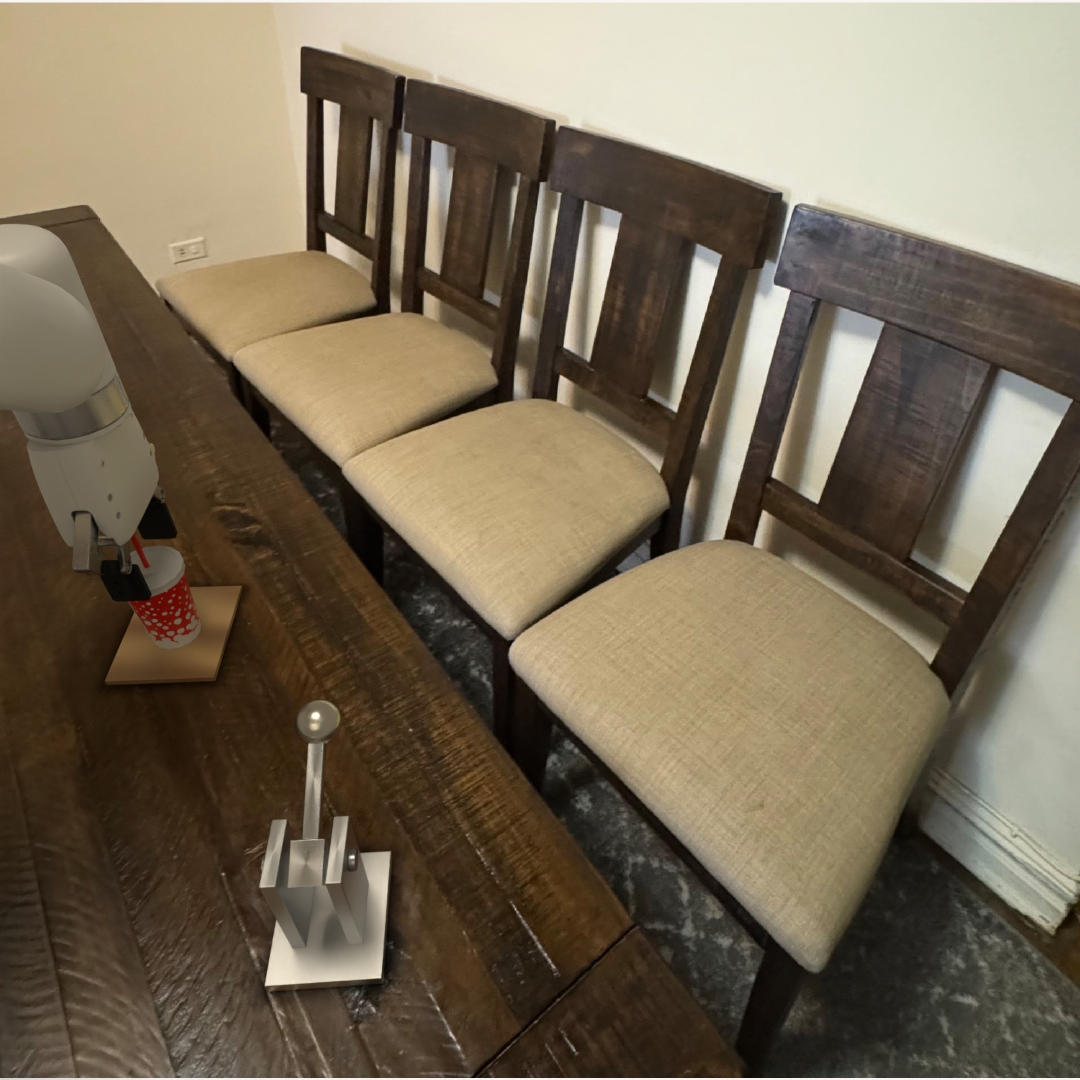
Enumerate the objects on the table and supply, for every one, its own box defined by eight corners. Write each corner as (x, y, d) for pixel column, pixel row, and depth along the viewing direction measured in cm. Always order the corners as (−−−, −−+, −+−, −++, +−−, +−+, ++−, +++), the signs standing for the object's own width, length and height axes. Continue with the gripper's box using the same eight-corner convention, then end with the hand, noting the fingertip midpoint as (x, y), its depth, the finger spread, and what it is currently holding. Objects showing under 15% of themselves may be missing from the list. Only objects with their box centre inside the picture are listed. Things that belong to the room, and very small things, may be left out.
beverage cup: (220, 631, 74) (179, 528, 65) (161, 666, 71) (108, 562, 62) (191, 599, 77) (147, 495, 68) (133, 630, 74) (78, 526, 65)
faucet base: (289, 863, 58) (255, 788, 50) (392, 857, 59) (375, 782, 51) (267, 991, 52) (224, 929, 44) (383, 983, 52) (361, 920, 44)
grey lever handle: (302, 704, 54) (291, 696, 51) (346, 702, 54) (338, 694, 51) (290, 886, 49) (277, 888, 46) (338, 883, 50) (329, 885, 47)
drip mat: (215, 681, 71) (213, 677, 70) (106, 685, 70) (104, 681, 70) (243, 589, 79) (241, 585, 79) (146, 592, 79) (144, 588, 78)
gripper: (64, 345, 62) (135, 506, 74) (-39, 473, 49) (68, 642, 61) (157, 344, 63) (213, 504, 75) (78, 471, 50) (161, 638, 62)
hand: (147, 565), depth 68 cm, fingers open, 7 cm apart
